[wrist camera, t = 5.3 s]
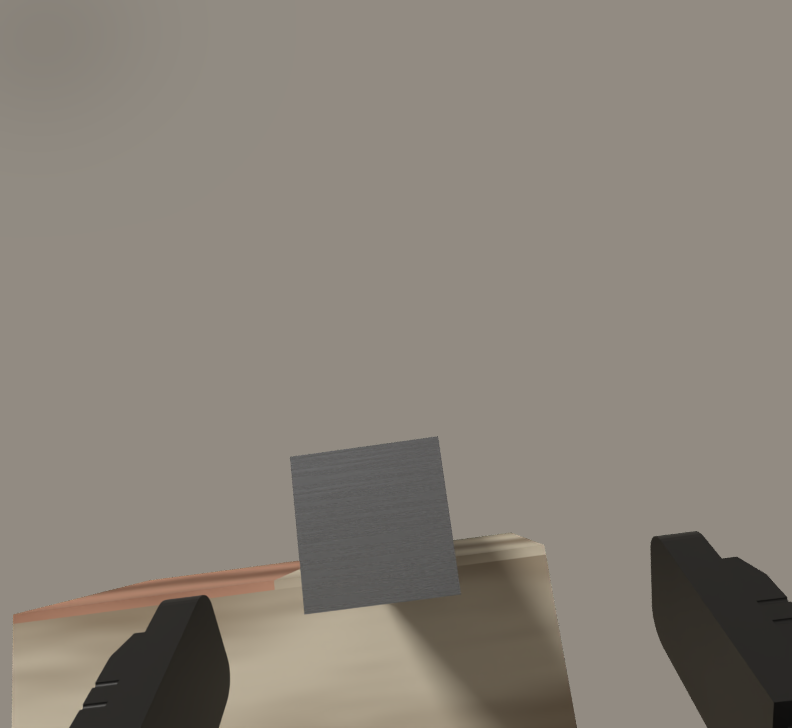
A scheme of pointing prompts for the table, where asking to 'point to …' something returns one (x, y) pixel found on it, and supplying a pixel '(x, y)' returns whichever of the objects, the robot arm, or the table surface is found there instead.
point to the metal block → (373, 526)
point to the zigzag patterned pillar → (330, 648)
